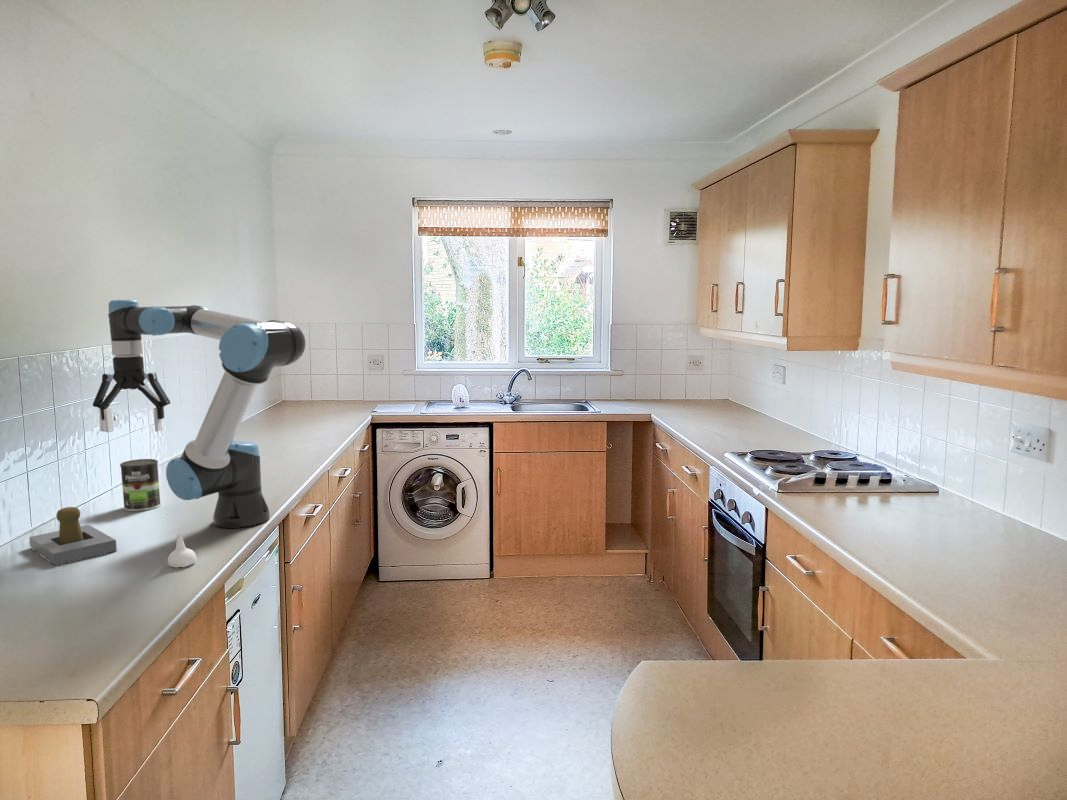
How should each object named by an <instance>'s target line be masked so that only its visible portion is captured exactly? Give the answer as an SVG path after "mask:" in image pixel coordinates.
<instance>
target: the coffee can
mask: <svg viewBox="0 0 1067 800" xmlns="http://www.w3.org/2000/svg"><path fill="white" fill-rule="evenodd" d="M119 465H120V470H121V471H120V473H121V474H120V475H121V484H122V485H121V486H122V497H123V510H125V511H126V512H144V511H143V510H145V511H150V509H151V510H154V509H158V508H159V507H161V505H162V503H161V493H160V492H161V491H160V477H159V466H158V465H159V460H157V459H154V458H153V459H152V458H139V459H131V460H128V461H123V462H120V464H119Z"/></svg>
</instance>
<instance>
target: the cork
mask: <svg viewBox="0 0 1067 800" xmlns="http://www.w3.org/2000/svg"><path fill="white" fill-rule="evenodd" d="M55 516H56V519H57V521H58V522H59V529H58V531H59V545H64V544H69V543H73V542H78V541H82V540H84V539H83V535H82V532H81V528H80V526H81V525H80V521H79V519H80V517H81V510H80V509H79V508H78V507H76V506H69V507H68V506H66V507H63V508H60V509H59V510H57V512H56V515H55Z"/></svg>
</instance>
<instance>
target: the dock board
mask: <svg viewBox="0 0 1067 800" xmlns="http://www.w3.org/2000/svg"><path fill="white" fill-rule="evenodd" d="M80 528H81V532H82V535H83V539H84V540H82V541H78V542H73V543H69V544H64V545H59V530H57V531H52V532H51V531H50V532H47V533H41V534H38V535H33V536H29V547H32V548H33V549H34V550H35V551H37V552H38V553H39V554H41V555H42V556H44V557H45V558H46V559H48V560H49V561H50V562H51V563H50V562H49V561H48V560H47V561H48V562H49V563H50V564H52V563H53V564H54V565H53V564H52V565H53V566H55V565H56V566H58V565H57V564H60V565H62V564H61V563H64V564H66V563H65V562H69V561H73V562H75V561H74V560H77V561H80V560H79V559H81V560H84V559H83V558H86V559H89V558H88V557H90V558H93V557H92V556H94V557H97V556H96V555H99V556H101V555H100V554H103V555H105V554H104V553H107V554H109V553H108V552H111V553H113V552H112V551H116V550H118V549H117V539H115V538H113V537H112V536H109V535H107V534H106V533H104V532H103V531H101V530H99V529H97V528H95V527H94V526H92V525H90V524H86V525H80ZM34 550H33V551H34ZM35 551H34V552H35ZM37 552H36V553H37ZM116 552H117V551H116ZM38 553H37V554H38ZM39 554H38V555H39ZM41 555H40V556H41ZM42 556H41V557H42ZM45 558H44V559H45ZM46 559H45V560H46ZM69 563H70V562H69Z"/></svg>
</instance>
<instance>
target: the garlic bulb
mask: <svg viewBox="0 0 1067 800" xmlns="http://www.w3.org/2000/svg"><path fill="white" fill-rule="evenodd" d="M175 545H176V546H175V549H174V550H173V551H172V552H171V553H169V555H168V556H167V565H168V566H169V567H170V566H172V567H183V566H187V565H191V564H193V563H194V564H195V563H196V561H197V555H196V553H195V551H194V550H192V549H191V548H187V547H186V545H185V542H184V538H183V533H182V532H181V533H180V532H179V533H178V534H176V544H175ZM194 564H193V565H194ZM191 566H192V565H191ZM172 567H171V568H172Z"/></svg>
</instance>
